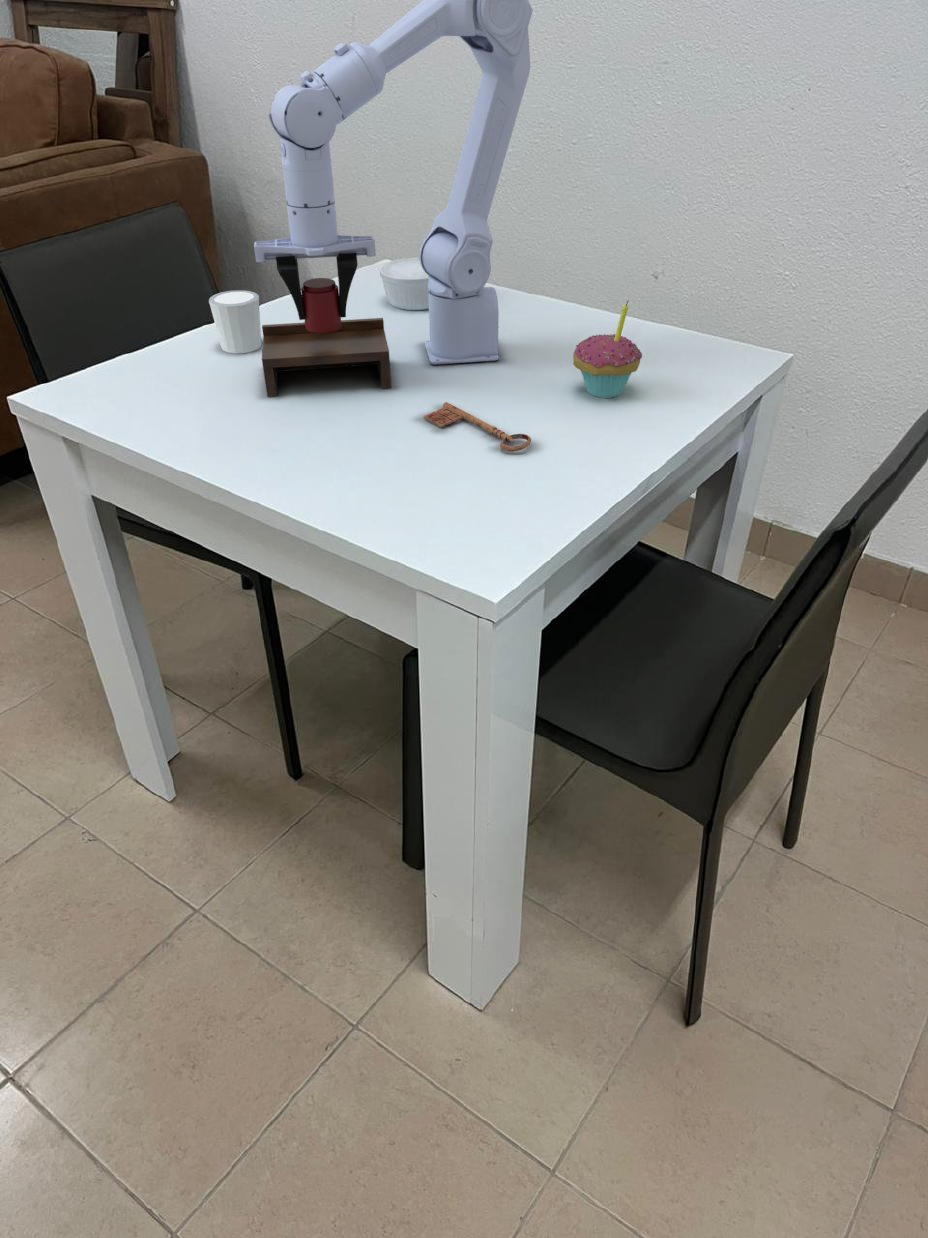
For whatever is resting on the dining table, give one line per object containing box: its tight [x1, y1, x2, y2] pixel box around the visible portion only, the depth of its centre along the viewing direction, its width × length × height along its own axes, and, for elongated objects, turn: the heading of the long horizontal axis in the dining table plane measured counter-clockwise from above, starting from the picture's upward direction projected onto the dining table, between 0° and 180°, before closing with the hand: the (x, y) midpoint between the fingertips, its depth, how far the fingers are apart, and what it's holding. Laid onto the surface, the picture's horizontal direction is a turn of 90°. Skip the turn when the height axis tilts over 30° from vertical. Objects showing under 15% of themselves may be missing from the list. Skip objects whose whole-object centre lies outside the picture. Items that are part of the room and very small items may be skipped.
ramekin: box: [379, 256, 429, 311], centre depth 146 cm, size 11×11×5 cm
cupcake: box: [572, 299, 644, 399], centre depth 115 cm, size 9×8×12 cm
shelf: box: [261, 317, 392, 398], centre depth 121 cm, size 16×9×6 cm, turn 99°
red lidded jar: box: [300, 277, 342, 333], centre depth 117 cm, size 5×5×6 cm
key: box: [423, 401, 532, 452], centre depth 110 cm, size 6×1×15 cm
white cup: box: [208, 289, 262, 355], centre depth 130 cm, size 7×7×7 cm
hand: (322, 315), depth 118 cm, fingers closed on red lidded jar, 4 cm apart
